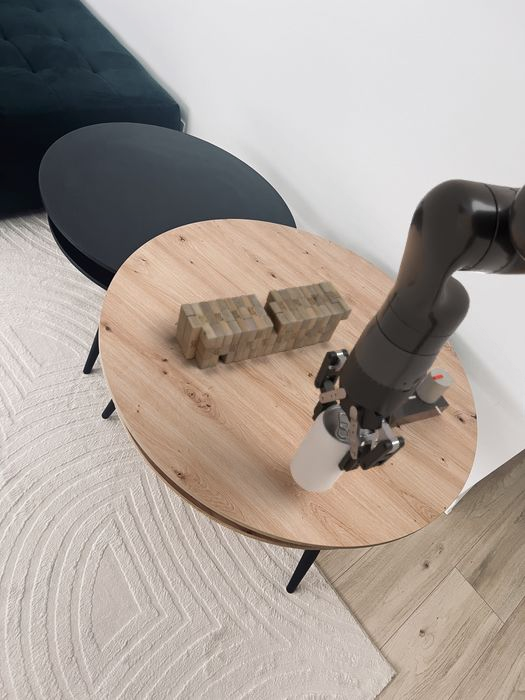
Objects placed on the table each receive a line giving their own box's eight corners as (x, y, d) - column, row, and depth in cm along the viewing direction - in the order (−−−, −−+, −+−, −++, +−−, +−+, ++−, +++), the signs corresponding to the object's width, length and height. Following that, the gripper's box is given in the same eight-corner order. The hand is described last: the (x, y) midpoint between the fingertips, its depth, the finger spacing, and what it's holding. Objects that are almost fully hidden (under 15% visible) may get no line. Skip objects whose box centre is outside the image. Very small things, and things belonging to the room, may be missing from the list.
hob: (448, 418, 93) (458, 408, 91) (391, 434, 87) (399, 424, 85) (402, 353, 101) (410, 342, 99) (347, 363, 95) (354, 352, 93)
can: (286, 486, 70) (317, 438, 61) (292, 445, 74) (321, 395, 66) (332, 500, 70) (369, 453, 62) (335, 458, 75) (370, 410, 66)
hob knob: (428, 382, 93) (444, 363, 89) (442, 400, 91) (458, 382, 87) (411, 387, 91) (427, 368, 88) (425, 405, 89) (441, 387, 86)
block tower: (190, 374, 85) (337, 340, 98) (199, 341, 79) (354, 308, 92) (173, 338, 89) (317, 309, 102) (180, 303, 83) (332, 277, 96)
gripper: (327, 312, 57) (282, 402, 69) (399, 422, 49) (334, 502, 61) (382, 305, 60) (330, 392, 72) (457, 407, 53) (384, 485, 65)
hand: (332, 442), depth 67 cm, fingers closed on can, 6 cm apart
